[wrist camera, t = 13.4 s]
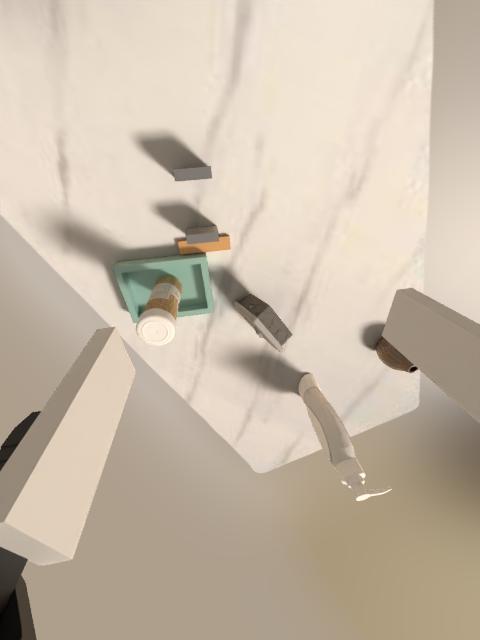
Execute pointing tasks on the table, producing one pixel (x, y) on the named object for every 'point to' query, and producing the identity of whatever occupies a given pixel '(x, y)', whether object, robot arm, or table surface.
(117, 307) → the table surface
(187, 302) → the parts tray
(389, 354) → the vase
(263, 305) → the electrical switch
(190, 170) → the grey and orange blocks
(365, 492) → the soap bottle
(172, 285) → the sprinkles bottle
